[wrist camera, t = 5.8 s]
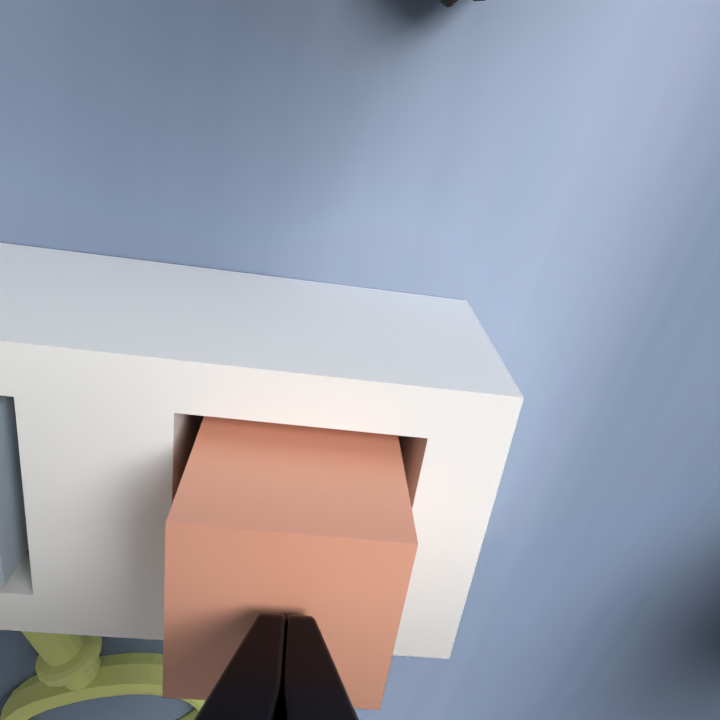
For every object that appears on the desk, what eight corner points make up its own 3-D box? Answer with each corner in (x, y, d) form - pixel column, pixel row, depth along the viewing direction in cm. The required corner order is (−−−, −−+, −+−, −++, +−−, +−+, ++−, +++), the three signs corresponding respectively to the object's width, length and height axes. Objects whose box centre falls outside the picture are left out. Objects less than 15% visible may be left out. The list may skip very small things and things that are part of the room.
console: (419, 509, 18) (449, 658, 13) (-116, 462, 17) (-284, 611, 12) (466, 300, 15) (524, 397, 11) (-165, 222, 14) (-405, 297, 9)
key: (-13, 443, 17) (-57, 492, 15) (252, 696, 22) (244, 759, 20) (-196, 556, 18) (-258, 614, 16) (90, 771, 23) (68, 836, 21)
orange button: (365, 528, 15) (379, 709, 11) (210, 515, 14) (162, 697, 10) (390, 394, 13) (418, 543, 9) (218, 376, 13) (164, 522, 9)
